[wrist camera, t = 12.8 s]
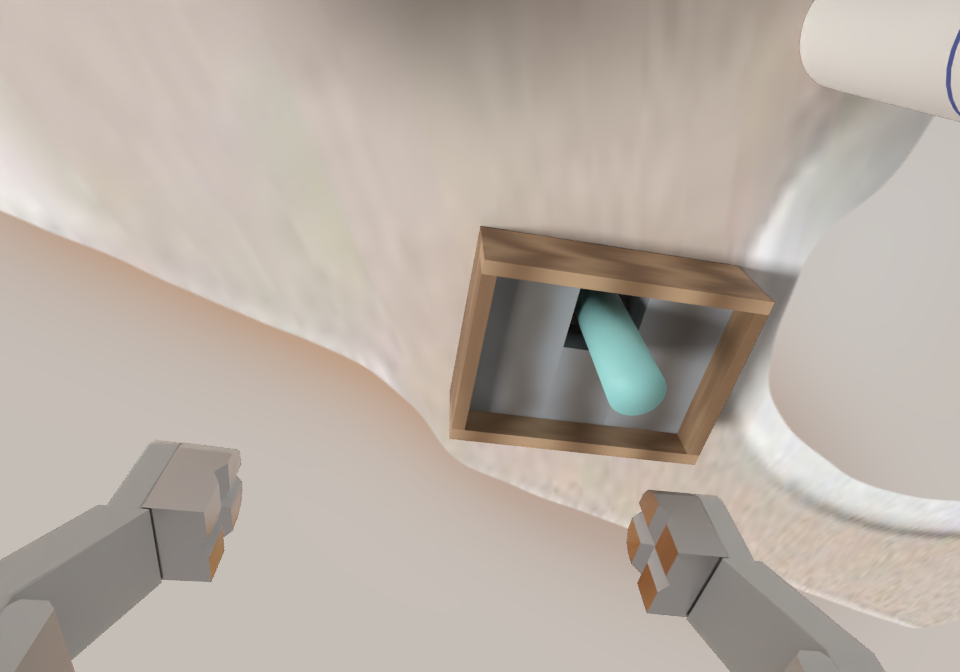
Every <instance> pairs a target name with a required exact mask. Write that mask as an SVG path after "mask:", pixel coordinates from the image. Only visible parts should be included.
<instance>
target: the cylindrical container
mask: <svg viewBox="0 0 960 672" xmlns="http://www.w3.org/2000/svg"><path fill="white" fill-rule="evenodd" d="M800 55H801V60H802V63H803V66H804V68H805V70H806V72H807V73H808V75H809V76H810V77H811V78H812V79H813V80H814V81H815V82H816V83H818V84H820V85H821V86H824V87H827V88H830V89H834V90H838V91H842V92H846V93H850V94H853V95H857V96H861V97H865V98H869V99H873V100H877V101H880V102H884V103H888V104H892V105H896V106H900V107H904V108H907V109H911V110H915V111H919V112H923V113H927V114H931V115H935V116H938V117H942V118H946V119H950V120H954V121H958V122H960V0H814V2H813V3H812V5H811V7H810V9H809V11H808V13H807V15H806V18H805V20H804V24H803V27H802V31H801V38H800Z"/></svg>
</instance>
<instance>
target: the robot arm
mask: <svg viewBox="0 0 960 672" xmlns="http://www.w3.org/2000/svg"><path fill="white" fill-rule="evenodd" d="M240 465H241V458H240V451H238V450H237V449H231V448H223V447H214V446H206V445H198V444H190V443H176V442H169V441H161V440H155V441H153V442H152V443H150V444H149V445H148V446H147V447H146V449H145V450H144V452H143V453H142V455H141V456H140V457H139V459H138V460H137V462H136V463H135V465H134V466H133V468H132V469H131V471H130V472H129V474H128V475H127V477H126V478H125V480H124V481H123V482H122V484H121V485H120V487H119V488H118V490H117V491H116V493H115V494H114V496H113V497H112V499H111V500H110V502H109V503H108V505H97V506H95V507H93V508H92V509H90V510H88V511H86V512H85V513H83V514H81V515H79V516H77V517H76V518H74V519H72V520H70V521H69V522H67V523H65V524H63V525H62V526H60V527H58V528H56V529H54V530H53V531H51V532H49V533H47V534H46V535H44V536H42V537H40V538H38V539H37V540H35V541H33V542H32V543H30V544H28V545H26V546H24V547H23V548H21V549H19V550H17V551H15V552H14V553H12V554H10V555H8V556H7V557H5V558H3V559H1V560H0V672H75V671H74V668H73V665H72V662H71V660H72V659H73V658H74V657H76V656H77V655H78V654H79V653H80V652H81V651H83V650H84V649H85V648H86V647H87V646H88V645H90V644H91V643H92V642H93V641H94V640H95V639H96V638H98V637H99V636H100V635H101V634H102V633H104V632H105V631H106V630H107V629H108V628H109V627H110V626H112V625H113V624H114V623H115V622H116V621H117V620H119V619H120V618H121V617H122V616H123V615H124V614H126V613H127V612H128V611H129V610H130V609H131V608H133V607H134V606H135V605H136V604H137V603H138V602H139V601H141V600H142V599H143V598H144V597H145V596H146V595H148V594H149V593H150V592H151V591H152V590H153V589H154V588H156V587H157V586H158V585H159V584H160V583H161V580H180V581H204V582H211V581H212V579H213V577H214V574H215V572H216V569H217V567H218V564H219V562H220V560H221V557H222V555H223V553H224V539H223V537H225V536H226V535H227V534H229V533H230V532H231V531H233V528H234V526H235V523H236V520H237V518H238V514H239V510H240V506H241V500H242V481H241V480H240V479H239V478H238V477H237V476H236V475H237V473H238V470H239V468H240ZM639 504H640V507H641V510H642V512H640V513H639V514H637V515H636V516H634V517H633V518H632V520H631V522H630V525H629V528H628V533H627V549H628V554H629V558H630V561H631V564H632V565H633V566H634V567H635V568H636V569H637V570H638V571H639V572H640V573H641V576H640V578H639V581H638V583H637V584H638V587H639V590H640V594H641V596H642V600H643V603H644V606H645V609H646V612H647V613H652V614H661V615H671V616H681V617H688V618H687V620H688V621H689V623H690V624H691V625H692V626H693V627H694V629H695V630H696V631H697V632H698V633H699V634H700V636H701V637H702V638H703V639H704V640H705V642H706V643H707V644H708V645H709V647H710V648H711V649H712V650H713V651H714V653H715V654H716V655H717V656H718V657H719V658H720V660H721V661H722V662H723V663H724V664H725V666H726V667H727V668H728V669H729V670H730V671H731V672H885V671H884V669H883V667H882V666H881V664H880V662H879V661H878V659H877V658H876V656H875V654H874V653H873V652H871V651H870V650H869V649H868V648H866V647H865V646H864V645H863V644H862V643H860V642H859V641H858V640H857V639H856V638H854V637H853V636H852V635H851V634H849V633H848V632H847V631H846V630H844V629H843V628H842V627H841V626H840V625H838V624H837V623H836V622H835V621H833V620H832V619H831V618H830V617H829V616H827V615H826V614H825V613H824V612H823V611H821V610H820V609H819V608H818V607H816V606H815V605H814V604H813V603H812V602H810V601H809V600H808V599H807V598H805V597H804V596H803V595H802V594H800V593H799V592H798V591H797V590H796V589H794V588H793V587H792V586H791V585H790V584H788V583H787V582H786V581H785V580H783V579H782V578H781V577H780V576H779V575H777V574H776V573H775V572H774V571H772V570H771V569H770V568H769V567H768V566H766V565H765V564H764V563H763V562H760V561H755V560H754V559H753V557H752V555H751V553H750V551H749V549H748V547H747V546H746V544H745V542H744V540H743V538H742V536H741V534H740V532H739V531H738V529H737V527H736V525H735V523H734V521H733V519H732V518H731V516H730V514H729V512H728V510H727V508H726V506H725V505H724V503H723V501H722V500H721V499H720V498H719V497H718V496H713V495H701V494H689V493H677V492H666V491H655V490H647V491H646V492H645V493H644V494H643V495H642V498H641V500H640V502H639Z"/></svg>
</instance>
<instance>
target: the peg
mask: <svg viewBox="0 0 960 672" xmlns="http://www.w3.org/2000/svg"><path fill="white" fill-rule="evenodd" d="M574 312H575V315H576V318H577V320H578V323H579V326H580V328H581V331H582V334H583V336H584V339H585V342H586V344H587V347H588V349H589V352H590V355H591V357H592V360H593V363H594V365H595V368H596V371H597V373H598V376H599V378H600V381H601V384H602V386H603V389H604V392H605V394H606V397H607V400H608V402H609V404H610V406H611V407H612V408H613V409H614V410H615V411H616V412H618V413H620V414H623V415H628V416H636V415H641V414H645V413H647V412H649V411H651V410H653V409H654V408H656V407H657V406H658V405H659V404H660V403H661V402H662V400H663V399H664V397H665V395H666V391H667V385H666V381H665V379H664V377H663V375H662V373H661V372H660V370H659V368H658V366H657V364H656V362H655V361H654V359H653V357H652V355H651V353H650V351H649V350H648V348H647V346H646V344H645V342H644V341H643V339H642V337H641V335H640V333H639V331H638V330H637V328H636V326H635V324H634V322H633V320H632V319H631V317H630V315H629V313H628V311H627V309H626V308H625V306H624V304H623V302H622V300H621V298H620V297H619V295H618V294H617V293H610V292H604V291H597V290H590V289H583V288H580V292H579V295H578V298H577V302H576V305H575V309H574Z"/></svg>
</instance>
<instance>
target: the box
mask: <svg viewBox="0 0 960 672" xmlns="http://www.w3.org/2000/svg"><path fill="white" fill-rule="evenodd" d="M580 288H583V289H590V290H597V291H604V292H610V293H617V294H624V295H631V296H630V298H629V301H628V304H627V307H626V309H627V311H628V313H629V315H630V317H631V319H632V320H633V322H634V324H635V326H636V328H637V330H638V331H639V333H640V335H641V337H642V339H643V341H644V342H645V344H646V346H647V348H648V350H649V351H650V353H651V355H652V357H653V359H654V361H655V362H656V364H657V366H658V368H659V370H660V372H661V373H662V375H663V377H664V379H665V381H666V385H667V391H666V395H665V397H664V399H663V400H662V402H661V403H660V404H659V405H658V406H657V407H656V408H654V409H653V410H651V411H649V412H647V413H645V414H641V415H636V416H628V415H623V414H620V413H618V412H616V411H615V410H614V409H613V408H612V407H611V406H610V404H609V402H608V400H607V397H606V394H605V392H604V389H603V386H602V384H601V381H600V378H599V376H598V373H597V371H596V368H595V365H594V363H593V360H592V357H591V355H590V352H589V349H588V347H587V344H586V342H585V339H584V336H583V334H582V331H581V328H580V327H576V326H570V322H571V319H572V315H573V312H574V309H575V305H576V302H577V298H578V295H579V292H580ZM774 304H775V302H774V301H773V300H772V299H771V298H770V297H769V296H768V295H767V294H766V293H765V292H764V291H763V290H762V289H761V288H760V287H759V286H757V285H756V284H755V283H754V282H753V281H752V280H751V279H750V278H749V277H748V276H747V275H746V274H745V273H744V272H743V271H742V270H741V269H740V268H739V267H738V266H735V265H728V264H722V263H715V262H709V261H702V260H696V259H689V258H683V257H676V256H670V255H663V254H657V253H650V252H644V251H637V250H631V249H624V248H618V247H611V246H605V245H599V244H592V243H586V242H579V241H573V240H566V239H560V238H553V237H547V236H540V235H534V234H527V233H521V232H514V231H508V230H501V229H495V228H488V227H482V226H480V232H479V237H478V242H477V248H476V253H475V259H474V264H473V270H472V275H471V280H470V286H469V291H468V297H467V302H466V307H465V313H464V318H463V324H462V329H461V335H460V340H459V345H458V351H457V356H456V362H455V367H454V372H453V378H452V383H451V389H450V439H456V440H466V441H475V442H485V443H494V444H503V445H513V446H522V447H531V448H541V449H550V450H560V451H569V452H578V453H588V454H597V455H607V456H616V457H625V458H635V459H644V460H653V461H663V462H672V463H682V464H691V465H695V463H696V461H697V459H698V457H699V455H700V453H701V451H702V449H703V447H704V445H705V443H706V441H707V439H708V437H709V435H710V433H711V431H712V429H713V427H714V425H715V423H716V421H717V419H718V417H719V414H720V412H721V410H722V408H723V406H724V404H725V402H726V400H727V398H728V396H729V394H730V392H731V390H732V388H733V386H734V384H735V382H736V380H737V378H738V376H739V374H740V372H741V370H742V368H743V366H744V364H745V362H746V360H747V358H748V356H749V354H750V352H751V350H752V348H753V346H754V344H755V342H756V340H757V338H758V336H759V334H760V332H761V330H762V328H763V326H764V324H765V322H766V320H767V318H768V316H769V314H770V312H771V310H772V308H773V306H774Z"/></svg>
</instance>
